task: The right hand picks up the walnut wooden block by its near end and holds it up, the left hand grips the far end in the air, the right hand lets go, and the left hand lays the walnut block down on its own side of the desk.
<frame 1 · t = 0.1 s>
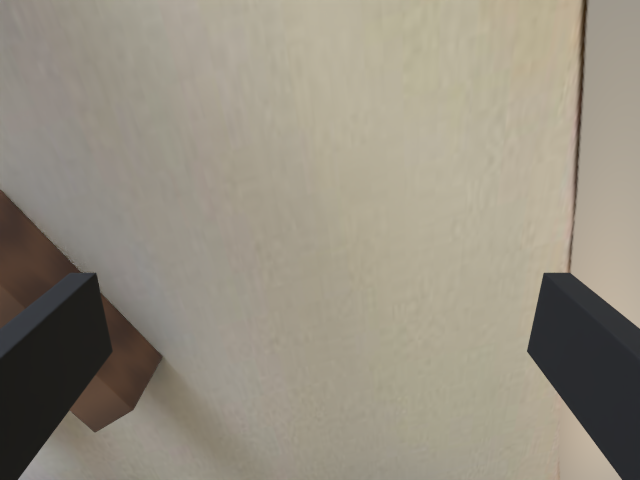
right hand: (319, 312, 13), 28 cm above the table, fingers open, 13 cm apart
walnut block: (59, 280, 44), on the table
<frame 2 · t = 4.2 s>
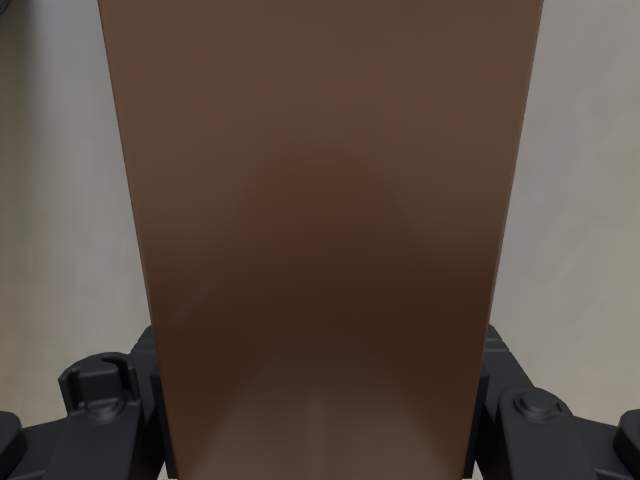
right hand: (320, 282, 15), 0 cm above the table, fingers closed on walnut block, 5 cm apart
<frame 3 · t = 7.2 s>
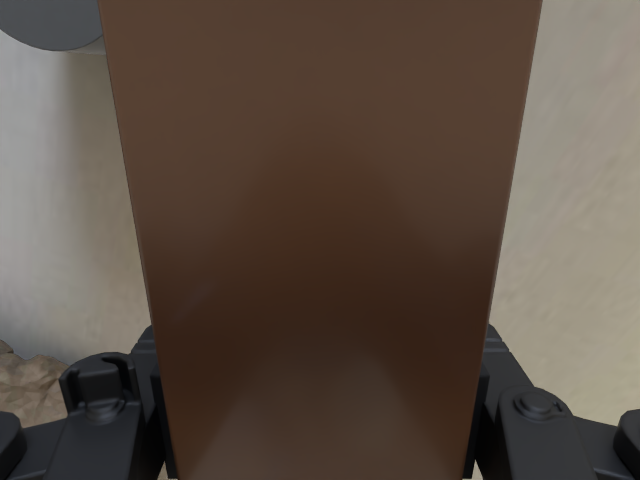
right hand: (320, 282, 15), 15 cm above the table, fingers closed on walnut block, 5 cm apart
stone: (45, 402, 35), on the table
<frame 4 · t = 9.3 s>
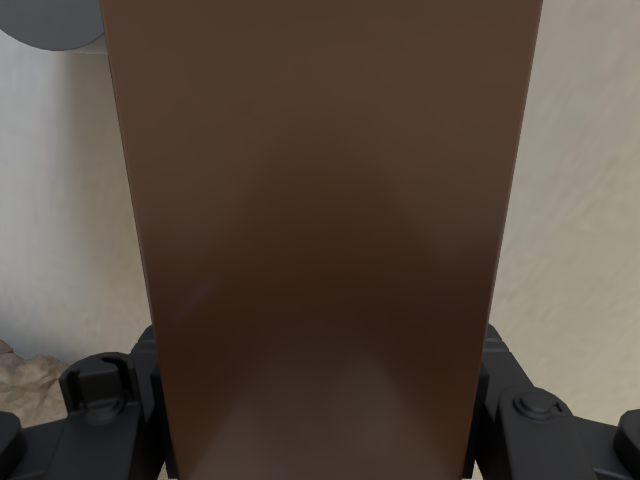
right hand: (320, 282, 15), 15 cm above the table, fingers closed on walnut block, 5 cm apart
stone: (45, 401, 35), on the table
when the right hand's fingers open (15 cm above the table, at t = 10.3 s): walnut block stays where it is, held by the left hand.
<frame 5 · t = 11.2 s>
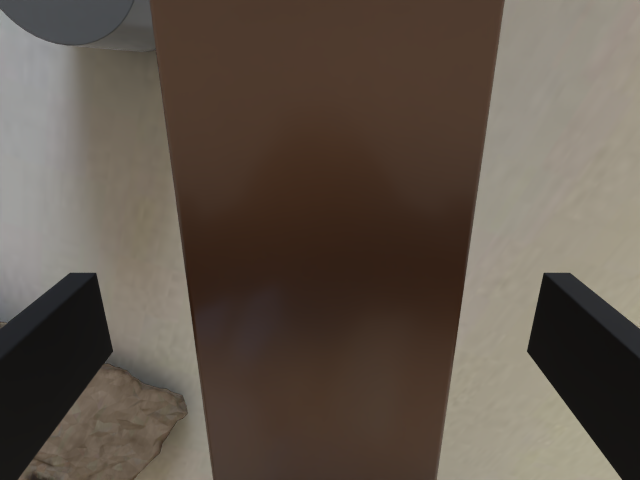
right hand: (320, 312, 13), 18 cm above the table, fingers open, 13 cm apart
stone: (54, 386, 36), on the table
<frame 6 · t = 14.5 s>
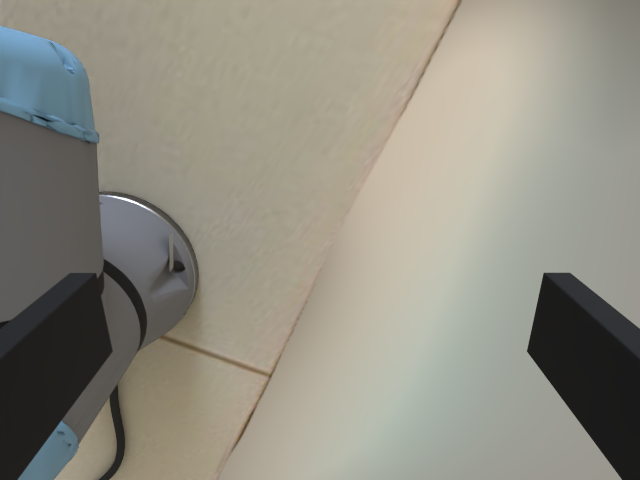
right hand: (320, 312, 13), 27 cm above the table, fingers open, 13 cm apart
when the left hand's fingers open (5 cm above the table, at t = 20.1 s): walnut block drops 1 cm, on the table.
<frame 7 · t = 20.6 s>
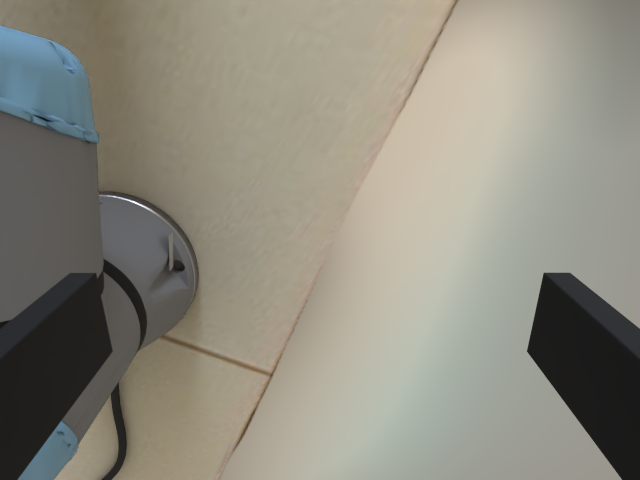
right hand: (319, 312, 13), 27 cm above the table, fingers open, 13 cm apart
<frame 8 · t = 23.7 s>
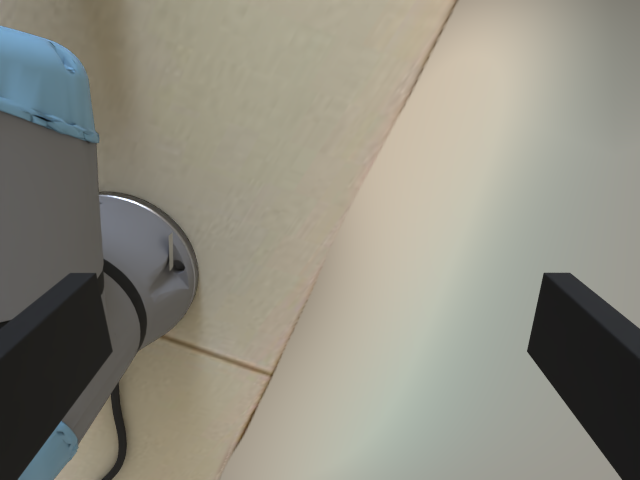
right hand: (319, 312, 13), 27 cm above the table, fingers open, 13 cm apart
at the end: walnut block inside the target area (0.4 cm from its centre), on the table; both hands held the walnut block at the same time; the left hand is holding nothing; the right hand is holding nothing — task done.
